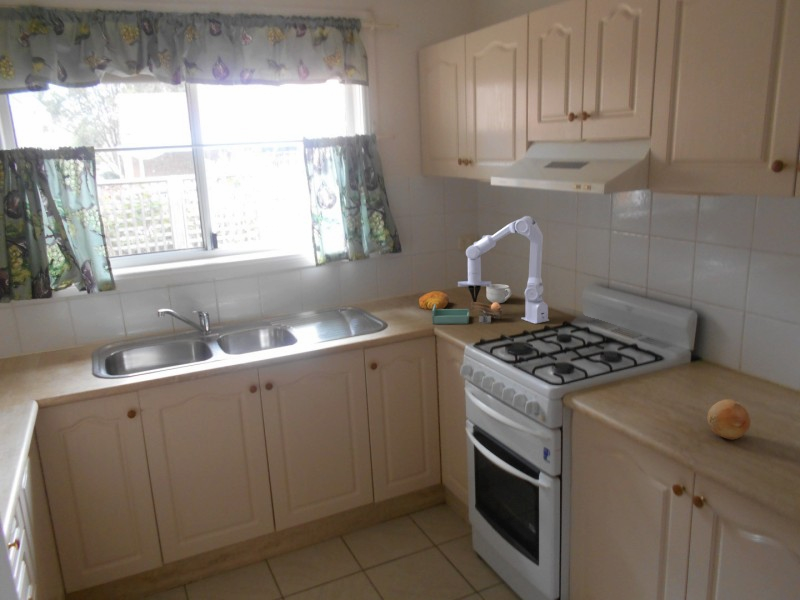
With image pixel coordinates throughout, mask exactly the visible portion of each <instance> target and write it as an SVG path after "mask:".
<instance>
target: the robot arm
mask: <svg viewBox="0 0 800 600" xmlns="http://www.w3.org/2000/svg"><path fill="white" fill-rule="evenodd" d="M516 233H517V234H520V235H521V236H523V237H526V239H528V240H529V241H530V242H529V243H530V244H529V248H530V249H529V265H528V266H529V267H528V278H527V284H526V288H525V290H524V294H523V295H524V297H525V307H524V308H525V309H524V310H525V314H524V315H525V316H524V317H523V316H522V317H521V318H520V319H521V320H523V321H526V322H528V323H532V324H536V325H537V324H540V323H545V322H549V321H550V319H549V306H548V304H547V303H546V302H544V299H543V296H542V295H543V293H544V291H545V290H544V288H545V287H544V286H543V279H542V277H541V276H542V261H543V259H542V258H543V243H544V242H543V240H544V236H543V233H542V231H541V229H540V227H539V225H538V223H537V220H535V219H534V218H533V217H532V216H529V215H524V216H523V217H521V218H519V219H516V220H514V221H512V222H510V223H508V224H507V225H505V226H504V227H503V228H501V229H499V230H498V231H497V232H495V233H494V234H493V235H492V234H491V235H490V234H487V235H486V234H484V235H483V236H481V239H479V240H478V241H474V242H473V244H471V245H469V246H468V247H467V248H466V250H465V255H466V257H467V280H465V281H457V287H458V288H461V287H468V291H469V292H470V294H471V295H470V296H471V298H472V302H477V300H478V296H479V294H480V293H479V292H480V290H481V289H482V288H481V287H486V286H489V287H491V285H492V281H491V280H482V261H481V258H482V257H481V256H482V254H485V253H487V252H488V251H490V250H491V249H492V248H494V247H496V243H497V241H498V242H499V240H501V239H503V238H505V237H506V236H508V235H509V234H516Z"/></svg>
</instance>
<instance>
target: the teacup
mask: <svg viewBox="0 0 800 600" xmlns="http://www.w3.org/2000/svg"><path fill="white" fill-rule="evenodd" d="M485 287H486V288H485V289H486V295H485V296H486V298H487V300H488V301H489V302H490V303H492V304H493V303H494V302H497V303H499V304H503V303H505V302H506V301H508V299H509V298H510V297H511V296H512V290H511V288H510V286H509V285H507V284H499V283H498V284H497V283H493V284H492V283H491V287H489V286H485Z"/></svg>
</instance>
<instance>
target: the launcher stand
mask: <svg viewBox="0 0 800 600" xmlns="http://www.w3.org/2000/svg"><path fill="white" fill-rule="evenodd" d="M478 323H479V324H491V323H492V316H491V315H488V313H487V312H486V311H483V312H482V315H479V316H478Z"/></svg>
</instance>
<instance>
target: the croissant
mask: <svg viewBox="0 0 800 600" xmlns="http://www.w3.org/2000/svg"><path fill="white" fill-rule="evenodd" d="M449 302H450V296H449V295H448V294H446V293H444V292H443V291H440V290H439V291H438V290H437V291H434V290H433V291H430V292H427V293H424V294H423V295H422V296H420V297H419V298H418V303H419V307H420V308H421V309H424V310H430V311H432V310H433V307H434V304H436V309H445V308H446V307H447V305H448V303H449Z"/></svg>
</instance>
